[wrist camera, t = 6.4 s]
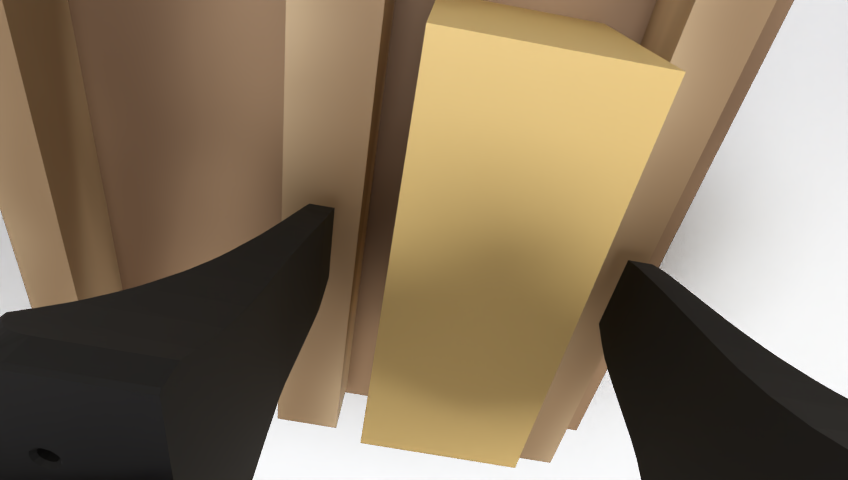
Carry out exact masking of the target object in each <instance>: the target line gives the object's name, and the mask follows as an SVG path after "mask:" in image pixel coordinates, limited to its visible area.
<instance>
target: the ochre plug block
mask: <svg viewBox="0 0 848 480" xmlns="http://www.w3.org/2000/svg"><path fill="white" fill-rule="evenodd" d="M685 73H686V72H685V71H684V70H682V69H680V68H678V67H677V66H675V65H673V64H672V63H670V62H668V61H667V60H665V59H663V58H662V57H660V56H658V55H656V54H655V53H653V52H651V51H650V50H648V49H646V48H645V47H643V46H641V45H640V44H638V43H636V42H634V41H633V40H631V39H629V38H628V37H626V36H624V35H623V34H621V33H619V32H618V31H616V30H614V29H612V28H611V27H609V26H607V25H606V24H603V23H598V22H593V21H587V20H582V19H577V18H572V17H567V16H561V15H556V14H551V13H546V12H541V11H535V10H530V9H525V8H520V7H515V6H509V5H504V4H499V3H494V2H489V1H483V0H435V3H434V5H433V7H432V10H431V12H430V15H429V17H428V20H427V22H426V28H425V35H424V41H423V48H422V54H421V60H420V67H419V73H418V79H417V86H416V92H415V99H414V105H413V111H412V118H411V124H410V130H409V137H408V143H407V150H406V156H405V162H404V169H403V175H402V182H401V188H400V194H399V201H398V207H397V213H396V220H395V226H394V233H393V239H392V245H391V252H390V258H389V265H388V271H387V277H386V284H385V290H384V296H383V303H382V309H381V316H380V322H379V328H378V335H377V341H376V347H375V354H374V360H373V367H372V373H371V379H370V386H369V392H368V399H367V405H366V411H365V418H364V424H363V430H362V437H361V443H364V444H370V445H377V446H383V447H389V448H395V449H402V450H408V451H414V452H420V453H426V454H433V455H439V456H445V457H451V458H457V459H464V460H470V461H476V462H482V463H488V464H495V465H501V466H507V467H513V468H515V467H516V464H517V462H518V460H519V457H520V455H521V453H522V450H523V448H524V446H525V443H526V441H527V439H528V436H529V434H530V432H531V429H532V427H533V425H534V423H535V420H536V418H537V416H538V413H539V411H540V409H541V406H542V404H543V402H544V399H545V397H546V395H547V392H548V390H549V388H550V385H551V383H552V381H553V378H554V376H555V374H556V372H557V369H558V367H559V365H560V362H561V360H562V358H563V355H564V353H565V351H566V348H567V346H568V344H569V341H570V339H571V337H572V334H573V332H574V330H575V328H576V325H577V323H578V321H579V318H580V316H581V314H582V311H583V309H584V307H585V304H586V302H587V300H588V297H589V295H590V293H591V290H592V288H593V286H594V283H595V281H596V279H597V277H598V274H599V272H600V270H601V267H602V265H603V263H604V260H605V258H606V256H607V253H608V251H609V249H610V246H611V244H612V242H613V239H614V237H615V235H616V232H617V230H618V228H619V226H620V223H621V221H622V219H623V216H624V214H625V212H626V209H627V207H628V205H629V202H630V200H631V198H632V195H633V193H634V191H635V188H636V186H637V184H638V182H639V179H640V177H641V175H642V172H643V170H644V168H645V165H646V163H647V161H648V158H649V156H650V154H651V151H652V149H653V147H654V144H655V142H656V140H657V137H658V135H659V133H660V131H661V128H662V126H663V124H664V121H665V119H666V117H667V114H668V112H669V110H670V107H671V105H672V103H673V100H674V98H675V96H676V93H677V91H678V89H679V86H680V84H681V82H682V80H683V77H684V75H685Z"/></svg>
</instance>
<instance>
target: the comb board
mask: <svg viewBox="0 0 848 480" xmlns="http://www.w3.org/2000/svg"><path fill="white" fill-rule="evenodd" d="M483 1H489V2H494V3H499V4H504V5H509V6H515V7H520V8H525V9H530V10H535V11H541V12H546V13H551V14H556V15H561V16H567V17H572V18H577V19H582V20H587V21H593V22H598V23H603V24H606V25H607V26H609V27H611V28H612V29H614V30H616V31H618V32H619V33H621V34H623V35H624V36H626V37H628V38H629V39H631V40H633V41H634V42H636V43H638V44H640V45H641V46H643V47H645V48H646V49H648V50H650V51H651V52H653V53H655V54H656V55H658V56H660V57H662V58H663V59H665V60H667V61H668V62H670V63H672V64H673V65H675V66H677V67H678V68H680V69H682V70H684V71H685V72H686V73H685V75H684V77H683V80H682V82H681V84H680V86H679V89H678V91H677V93H676V96H675V98H674V100H673V103H672V105H671V107H670V110H669V112H668V114H667V117H666V119H665V121H664V124H663V126H662V128H661V131H660V133H659V135H658V137H657V140H656V142H655V144H654V147H653V149H652V151H651V154H650V156H649V158H648V161H647V163H646V165H645V168H644V170H643V172H642V175H641V177H640V179H639V182H638V184H637V186H636V188H635V191H634V193H633V195H632V198H631V200H630V202H629V205H628V207H627V209H626V212H625V214H624V216H623V219H622V221H621V223H620V226H619V228H618V230H617V232H616V235H615V237H614V239H613V242H612V244H611V246H610V249H609V251H608V253H607V256H606V258H605V260H604V263H603V265H602V267H601V270H600V272H599V274H598V277H597V279H596V281H595V283H594V286H593V288H592V290H591V293H590V295H589V297H588V300H587V302H586V304H585V307H584V309H583V311H582V314H581V316H580V318H579V321H578V323H577V325H576V328H575V330H574V332H573V334H572V337H571V339H570V341H569V344H568V346H567V348H566V351H565V353H564V355H563V358H562V360H561V362H560V365H559V367H558V369H557V372H556V374H555V376H554V378H553V381H552V383H551V385H550V388H549V390H548V392H547V395H546V397H545V399H544V402H543V404H542V406H541V409H540V411H539V413H538V416H537V418H536V420H535V423H534V425H533V427H532V429H531V432H530V434H529V436H528V439H527V441H526V443H525V446H524V448H523V450H522V453H521V455H520V457H519V458H524V459H531V460H537V461H543V462H549V463H550V462H551V460H552V458H553V456H554V454H555V452H556V450H557V448H558V446H559V444H560V442H561V440H562V438H563V436H564V434H565V432H566V430H567V429H572V430H577V428H578V426H579V424H580V422H581V420H582V418H583V416H584V414H585V412H586V410H587V408H588V406H589V404H590V402H591V400H592V398H593V396H594V394H595V392H596V390H597V388H598V386H599V384H600V382H601V380H602V378H603V376H604V375H605V373H606V371H607V365H606V362H605V359H604V353H603V348H602V343H601V336H600V329H599V322H600V320H601V318H602V315H603V313H604V311H605V309H606V307H607V305H608V302H609V300H610V298H611V296H612V294H613V292H614V290H615V287H616V285H617V283H618V281H619V279H620V277H621V274H622V272H623V270H624V268H625V266H626V264H627V261H628V260H631V261H636V262H642V263H648V264H653V265H654V266H656V267H658V268H659V266H660V264H661V262H662V260H663V258H664V256H665V254H666V252H667V250H668V248H669V246H670V244H671V242H672V240H673V238H674V236H675V234H676V232H677V230H678V228H679V226H680V225H681V223H682V221H683V219H684V217H685V215H686V213H687V211H688V209H689V207H690V205H691V203H692V201H693V199H694V197H695V195H696V193H697V191H698V189H699V187H700V185H701V183H702V181H703V179H704V177H705V175H706V173H707V171H708V169H709V167H710V165H711V163H712V161H713V159H714V157H715V155H716V153H717V151H718V150H719V148H720V146H721V144H722V142H723V140H724V138H725V136H726V134H727V132H728V130H729V128H730V126H731V124H732V122H733V120H734V118H735V116H736V114H737V112H738V110H739V108H740V106H741V104H742V102H743V100H744V98H745V96H746V94H747V92H748V90H749V88H750V86H751V84H752V82H753V80H754V78H755V76H756V74H757V73H758V71H759V69H760V67H761V65H762V63H763V61H764V59H765V57H766V55H767V53H768V51H769V49H770V47H771V45H772V43H773V41H774V39H775V37H776V35H777V33H778V31H779V29H780V27H781V25H782V23H783V21H784V19H785V17H786V15H787V13H788V11H789V9H790V7H791V5H792V3H793V1H794V0H483ZM434 3H435V0H0V210H1V213H2V216H3V219H4V222H5V225H6V229H7V232H8V235H9V238H10V241H11V244H12V247H13V251H14V254H15V257H16V260H17V263H18V266H19V270H20V273H21V276H22V279H23V282H24V285H25V288H26V292H27V295H28V298H29V301H30V304H31V307H32V308H38V307H44V306H50V305H56V304H62V303H68V302H73V301H78V300H83V299H88V298H92V297H97V296H101V295H105V294H110V293H114V292H118V291H122V290H125V289H129V288H133V287H137V286H140V285H143V284H146V283H150V282H153V281H156V280H159V279H162V278H165V277H168V276H171V275H174V274H177V273H180V272H183V271H185V270H188V269H191V268H193V267H196V266H198V265H200V264H203V263H205V262H208V261H210V260H212V259H214V258H217V257H219V256H221V255H223V254H225V253H227V252H229V251H231V250H233V249H235V248H237V247H238V246H240V245H242V244H244V243H246V242H248V241H250V240H251V239H253V238H255V237H257V236H259V235H260V234H262V233H264V232H265V231H267V230H269V229H270V228H272V227H273V226H275V225H277V224H278V223H280V222H281V221H283V220H284V219H286V218H288V217H289V216H291V215H292V214H294V213H295V212H297V211H298V210H300V209H301V208H303V207H304V206H306V205H308V204H315V205H321V206H326V207H332V208H335V210H334V222H333V234H332V247H331V259H330V271H329V279H328V282H327V285H326V289H325V292H324V295H323V299H322V302H321V305H320V308H319V311H318V313H317V316H316V318H315V320H314V322H313V325H312V327H311V329H310V331H309V333H308V335H307V338H306V340H305V342H304V344H303V346H302V348H301V351H300V353H299V355H298V357H297V359H296V361H295V364H294V366H293V368H292V370H291V372H290V374H289V377H288V379H287V381H286V383H285V385H284V388H283V390H282V393H281V395H280V398H279V400H278V419H285V420H291V421H297V422H303V423H309V424H315V425H322V426H328V427H334V428H336V426H337V422H338V418H339V414H340V410H341V406H342V402H343V398H344V394H345V392H348V393H354V394H360V395H366V396H368V392H369V386H370V379H371V373H372V367H373V360H374V354H375V347H376V341H377V335H378V328H379V322H380V316H381V309H382V303H383V296H384V290H385V284H386V277H387V271H388V265H389V258H390V252H391V245H392V239H393V233H394V226H395V220H396V213H397V207H398V201H399V194H400V188H401V182H402V175H403V169H404V162H405V156H406V150H407V143H408V137H409V130H410V124H411V118H412V111H413V105H414V99H415V92H416V86H417V79H418V73H419V67H420V60H421V54H422V48H423V41H424V35H425V28H426V22H427V20H428V17H429V15H430V12H431V10H432V7H433V5H434Z"/></svg>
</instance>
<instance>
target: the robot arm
mask: <svg viewBox="0 0 848 480" xmlns="http://www.w3.org/2000/svg"><path fill="white" fill-rule="evenodd" d="M334 210H335V208H332V207H326V206H321V205H315V204H308V205H306V206H304V207H303V208H301V209H300V210H298V211H297V212H295V213H294V214H292V215H291V216H289V217H288V218H286V219H284V220H283V221H281V222H280V223H278V224H277V225H275V226H273V227H272V228H270V229H269V230H267V231H265V232H264V233H262V234H260V235H259V236H257V237H255V238H253V239H251V240H250V241H248V242H246V243H244V244H242V245H240V246H238V247H237V248H235V249H233V250H231V251H229V252H227V253H225V254H223V255H221V256H219V257H217V258H214V259H212V260H210V261H208V262H205V263H203V264H200V265H198V266H196V267H193V268H191V269H188V270H185V271H183V272H180V273H177V274H174V275H171V276H168V277H165V278H162V279H159V280H156V281H153V282H150V283H146V284H143V285H140V286H137V287H133V288H129V289H125V290H122V291H118V292H114V293H110V294H105V295H101V296H97V297H92V298H88V299H83V300H78V301H73V302H68V303H62V304H56V305H50V306H44V307H38V308H32V309H26V310H20V311H13V312H6V313H5V314H4V315H2V316H1V317H0V480H252V479H253V476H254V473H255V470H256V467H257V464H258V460H259V457H260V454H261V451H262V448H263V445H264V442H265V439H266V436H267V433H268V430H269V427H270V424H271V421H272V418H273V415H274V412H275V409H276V406H277V403H278V400H279V398H280V395H281V393H282V390H283V388H284V385H285V383H286V381H287V379H288V377H289V374H290V372H291V370H292V368H293V366H294V364H295V361H296V359H297V357H298V355H299V353H300V351H301V348H302V346H303V344H304V342H305V340H306V338H307V335H308V333H309V331H310V329H311V327H312V325H313V322H314V320H315V318H316V316H317V313H318V311H319V308H320V305H321V302H322V299H323V295H324V292H325V289H326V285H327V282H328V279H329V271H330V259H331V247H332V234H333V222H334ZM599 329H600V336H601V343H602V348H603V353H604V359H605V362H606V365H607V369H608V372H609V375H610V378H611V381H612V384H613V387H614V390H615V393H616V396H617V399H618V402H619V405H620V408H621V411H622V414H623V417H624V420H625V423H626V426H627V429H628V432H629V435H630V438H631V441H632V444H633V448H634V451H635V455H636V458H637V462H638V467H639V471H640V476H641V480H848V399H847V398H845V397H843V396H842V395H840V394H838V393H836V392H834V391H833V390H831V389H829V388H827V387H826V386H824V385H822V384H820V383H819V382H817V381H815V380H814V379H812V378H810V377H809V376H807V375H806V374H804V373H802V372H801V371H799V370H798V369H796V368H794V367H793V366H791V365H790V364H788V363H787V362H785V361H783V360H782V359H780V358H779V357H777V356H776V355H774V354H773V353H771V352H770V351H768V350H767V349H765V348H764V347H763V346H761V345H760V344H758V343H757V342H756V341H754V340H753V339H751V338H750V337H749V336H747V335H746V334H744V333H743V332H742V331H740V330H739V329H738V328H736V327H735V326H734V325H732V324H731V323H730V322H728V321H727V320H726V319H724V318H723V317H722V316H721V315H719V314H718V313H717V312H715V311H714V310H713V309H712V308H710V307H709V306H708V305H706V304H705V303H704V302H703V301H701V300H700V299H699V298H698V297H696V296H695V295H694V294H693V293H691V292H690V291H689V290H688V289H686V288H685V287H684V286H682V285H681V284H680V283H679V282H677V281H676V280H675V279H673V278H672V277H671V276H669V275H668V274H667V273H665V272H664V271H662V270H661V269H659V268H658V267H656V266H654V265H653V264H648V263H642V262H636V261H631V260H628V261H627V264H626V266H625V268H624V270H623V272H622V274H621V277H620V279H619V281H618V283H617V285H616V287H615V290H614V292H613V294H612V296H611V298H610V300H609V302H608V305H607V307H606V309H605V311H604V313H603V315H602V318H601V320H600V322H599Z"/></svg>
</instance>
